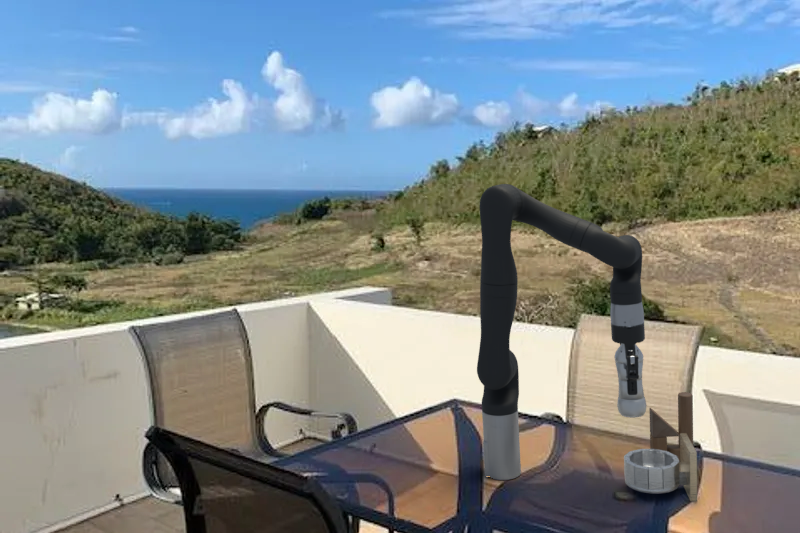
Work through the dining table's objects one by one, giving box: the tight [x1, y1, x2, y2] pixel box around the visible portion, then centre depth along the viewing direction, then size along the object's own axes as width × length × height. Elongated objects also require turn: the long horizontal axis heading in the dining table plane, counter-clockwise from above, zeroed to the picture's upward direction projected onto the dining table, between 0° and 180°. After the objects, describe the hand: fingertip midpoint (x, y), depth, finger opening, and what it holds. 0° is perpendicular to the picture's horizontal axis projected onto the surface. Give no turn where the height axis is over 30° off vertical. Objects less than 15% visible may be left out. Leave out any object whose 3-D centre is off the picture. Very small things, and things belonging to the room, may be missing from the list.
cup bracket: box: [623, 433, 698, 503], centre depth 191 cm, size 16×12×12 cm
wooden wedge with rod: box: [649, 391, 694, 463], centre depth 207 cm, size 4×11×18 cm, turn 87°
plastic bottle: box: [614, 343, 648, 419], centre depth 188 cm, size 6×7×20 cm
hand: (631, 390), depth 189 cm, fingers closed on plastic bottle, 5 cm apart
